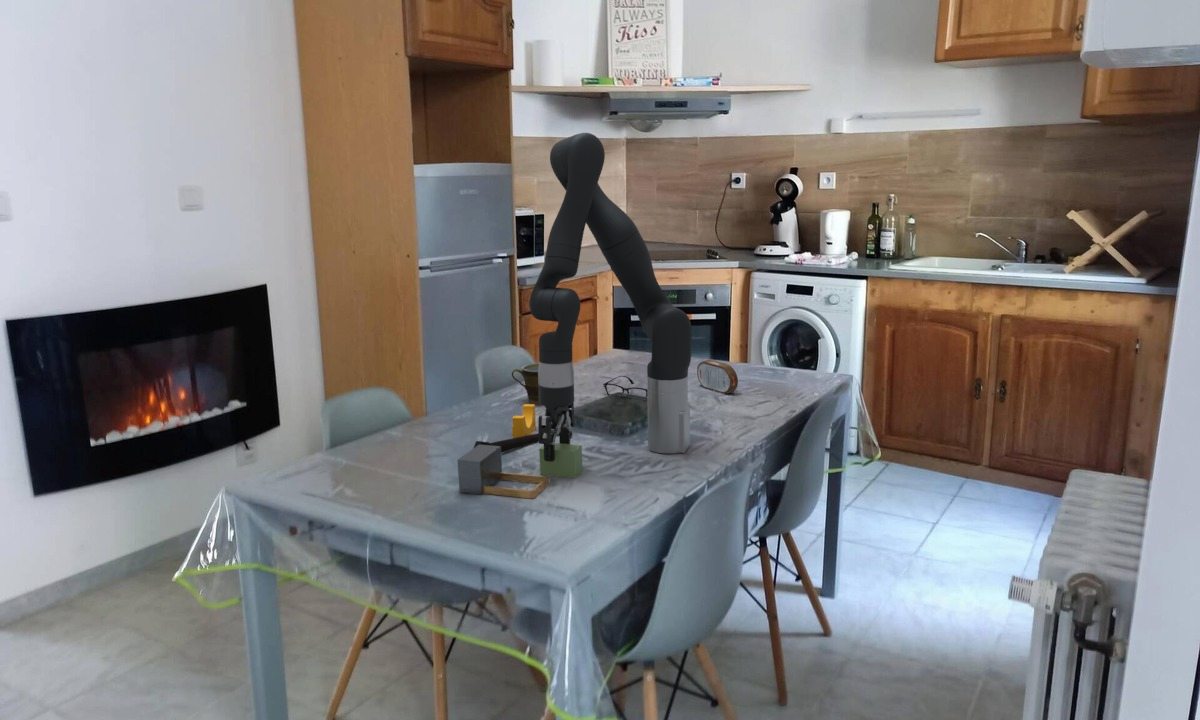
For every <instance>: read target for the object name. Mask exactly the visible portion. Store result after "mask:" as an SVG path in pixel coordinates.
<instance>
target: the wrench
mask: <svg viewBox="0 0 1200 720" xmlns="http://www.w3.org/2000/svg"><path fill="white" fill-rule="evenodd" d="M560 432H561V431H560ZM560 432H559V433H560ZM569 433H570V437H571V436H573V431H572V430H571V432H569ZM543 434H544V433H543ZM551 438H552V435H551ZM571 438H572V437H571ZM537 442H538V433H532V434H531V435H527V436H522V437H517V438H513V437H512V438H508V439H501V440H498V441H494V442H488V441H482V440H476V441H475V442H474V446H473V448H472V449H474V448H475V447H476V446H478V445H479V444H480V445H491V446H501V454H502V453H504V452H508V451H511V450H513V449H514V450H515V449H517V448H521V447H524V446H528V445H532V444H534V443H537Z"/></svg>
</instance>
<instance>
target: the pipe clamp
mask: <svg viewBox="0 0 1200 720" xmlns="http://www.w3.org/2000/svg"><path fill="white" fill-rule="evenodd" d="M536 423H537V422H536V405H535V404H530V403H528V404H527V403H524V404H523V406H522V415H514V416H513V417H512V426H511V433H512V438H517V437H522V436H527V435H532V434H533V433H534V431H535V430H536V429H537V428H536V427H537V424H536ZM535 428H536V429H535ZM532 432H533V433H532Z"/></svg>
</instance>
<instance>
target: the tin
mask: <svg viewBox="0 0 1200 720" xmlns="http://www.w3.org/2000/svg"><path fill="white" fill-rule="evenodd" d="M696 370H697V371H696V375H697V379H698V381H699V384H700V385H701V386H702V388H705V389H707V390H710V391H714V392H716V393H720V394H724V395H726V394H730V393H731V394H732V393H733V392H735V391H736V390H737V388H738V384H739V380H738V374H737V371H736V370H735V368H734V367H733V366H732V365H730V364H728V363H724V362H720V361H718V360H715V359H710V358H709V359H706V360H703V361H701V362H699V363H698V365H697V369H696Z"/></svg>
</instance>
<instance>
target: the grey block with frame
mask: <svg viewBox="0 0 1200 720" xmlns="http://www.w3.org/2000/svg"><path fill="white" fill-rule="evenodd" d="M473 448H474V447H473ZM473 448H472V449H471V450H470V451H468V452H466V453H465V454H464V455H462V456H461V457H459V458H458V459H457V471H458V472H457V473H458V487H459V488H458V489H459V491H458V492H459V493H463V494H473V495H481V496H482V495H483V494H485V495H493V496H504V497H513V498H521V499H529V500H530V499H531V500H533V499H535V498H536V497H537V496H538V495H539V494H540V493H541V492H542V491H544V490H545V489H546V487H547V486H549V485H550V476H546V475H534V474H524V473H523V474H522V473H513V472H505V471H503V467H502V466H503V465H502V464H503V462H502V453H501V446H491V445H480V444H479V445H478V446H476V447H475V448H474V449H473ZM499 481H511V482H518V483H519V482H520V483H529V484H530V483H531V484H536V485H535V486H534V487H533V488H532V489H530V490H529V489H521V488H520V489H519V488H512V487H501V486H495V484H497V482H499Z"/></svg>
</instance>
